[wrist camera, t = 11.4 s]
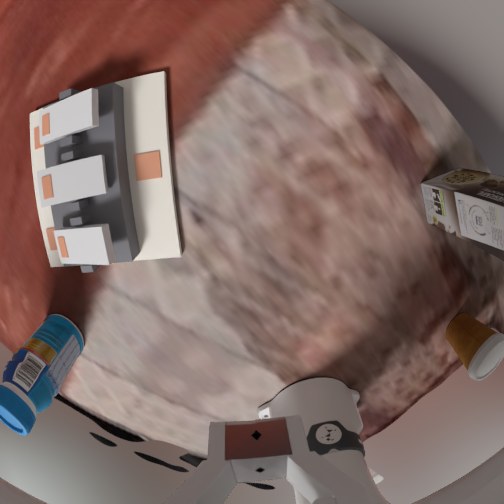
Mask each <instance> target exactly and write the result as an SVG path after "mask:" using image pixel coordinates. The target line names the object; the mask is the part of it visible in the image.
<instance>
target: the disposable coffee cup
mask: <svg viewBox="0 0 504 504" xmlns="http://www.w3.org/2000/svg"><path fill="white" fill-rule="evenodd" d="M446 338H447V340H448V341H449V343H450V344H451V346H452V347H453V348H454V350H455V352H456V353H457V354H458V356H459V358H460V359H461V361H462V362H463V364H464V365H465V367H466V368H467V370H468V373H469V377H470V378H471V379H475V380H476V381H480V380H483V379H484V378H486V377H487V376H488V375H490V373H492V372H493V371H494V370H495V368H496V367H497V366H498V364H499V363H500V362H501V360H502V358H503V357H504V334H502V333H501V334H500V333H497V332H495V331H494V330H492V329H491V328H489V327H487V326H486V325H484V324H483V323H481V322H479V321H478V320H476V319H475V318H473V317H471V316H470V315H468V314H466V313H460V314H458V315H457V316H456V317H455V318H454V319H453V320H452V321H451V322H450V324H449V326H448V328H447V330H446Z"/></svg>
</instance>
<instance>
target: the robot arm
mask: <svg viewBox="0 0 504 504" xmlns="http://www.w3.org/2000/svg"><path fill="white" fill-rule="evenodd" d="M359 398H360V395H359V392H358V391H355V390H352V389H349V388H348V387H347V386H346V385H345V384H344V383H343V382H341V381H339V380H337V379H333V378H312V379H308V380H304V381H301V382H298V383H295V384H293V385H291V386H289V387H287V388H286V389H284V390H283V391H281V392H280V393H279V394H278V395H277V396H276V397H275V398H274V399H273V400H272V401H270V402H269V403H267V404H265V405H263V406H261V407H259V408H258V410H257V411H258V415H259V417H260V419H259V420H255V421H234V422H211V423H210V426H209V442H208V459H207V461H202V462H201V463H200V465H199V466H198V467H197V468H196V469H195V470H194V471H193V472H192V473H191V474H190V476H189V477H188V478H187V479H186V480H185V481H184V482H183V483H182V484H181V485H180V486H179V487H178V488H177V489H176V490H175V491H174V492H173V493H172V494H171V495H170V496H169V497H168V498H167V500H165V501H164V502H163V503H162V504H224V502H225V500H226V499H227V498H228V496H229V495H230V493H231V492H232V491H233V489H234V488H235V486H236V485H237V483H238V482H251V481H262V480H274V479H283V478H286V479H287V480H288V481H289V482H290V483H291V484H292V485H293V486H294V491H295V497H296V503H297V504H390V503H389V502H388V501H387V500H386V499H385V498H384V497H383V496H382V495H381V493H380V491H379V490H378V488H377V486H376V484H375V482H374V480H373V478H372V476H371V473H370V471H369V469H368V466H367V464H366V461H365V459H364V456H365V451H364V446H363V443H362V441H361V439H360V437H359V433H360V432H361V429H362V428H363V424H362V421H361V418H360V414H359V411H358V409H357V406H356V404H357V402H358V400H359ZM0 504H47V503H46V502H43V501H42V500H39V499H37V498H35V497H33V496H32V495H29V494H28V493H26V492H24V491H22V490H20V489H19V488H17V487H15V486H13V485H12V484H10V483H8V482H7V481H5V480H4V479H2V478H0ZM412 504H504V448H502V449H501V450H500V451H499V452H497V453H496V454H495V455H493V456H492V457H491V458H489V459H488V460H486V461H485V462H484V463H482V464H481V465H480V466H478V467H476V468H475V469H473V470H472V471H471V472H469V473H467V474H466V475H464V476H463V477H461V478H460V479H458V480H456V481H454V482H453V483H451V484H449V485H448V486H446V487H444V488H442V489H440V490H438V491H437V492H435V493H433V494H431V495H429V496H427V497H425V498H423V499H421V500H419V501H417V502H414V503H412Z"/></svg>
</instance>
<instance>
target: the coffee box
mask: <svg viewBox="0 0 504 504" xmlns="http://www.w3.org/2000/svg"><path fill="white" fill-rule="evenodd" d="M421 187H422V193H423V198H424V204H425V210H426V217H427V222H428V223H429V224H432V225H434V226H436V227H438V228H440V229H443V230H445V231H447V232H449V233H451V234H453V235H455V236H457V237H459V238H461V239H463V240H465V241H467V242H469V243H471V244H473V245H475V246H477V247H479V248H481V249H483V250H485V251H487V252H489V253H490V254H492V255H494V256H496V257H498V258H500V259H501V260H503V261H504V176H501V175H496V174H491V173H486V172H480V171H474V170H469V169H463V168H458V169H455V170H452V171H450V172H447V173H445V174H442V175H440V176H437V177H435V178H432V179H430V180H427V181H425V182H422V183H421Z"/></svg>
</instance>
